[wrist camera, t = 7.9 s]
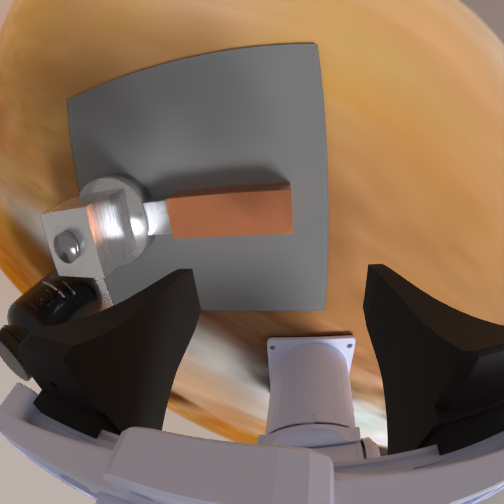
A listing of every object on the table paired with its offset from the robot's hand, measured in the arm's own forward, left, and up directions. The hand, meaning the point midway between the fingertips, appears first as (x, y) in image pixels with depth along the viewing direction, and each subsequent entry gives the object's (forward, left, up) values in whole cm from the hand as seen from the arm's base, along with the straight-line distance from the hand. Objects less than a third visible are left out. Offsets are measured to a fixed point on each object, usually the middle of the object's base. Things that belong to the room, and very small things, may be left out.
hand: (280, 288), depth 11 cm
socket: (+1, +13, -7) cm, 15 cm away
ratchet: (+1, +8, -9) cm, 12 cm away
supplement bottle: (-6, +22, -10) cm, 25 cm away
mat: (+2, +7, -9) cm, 12 cm away
